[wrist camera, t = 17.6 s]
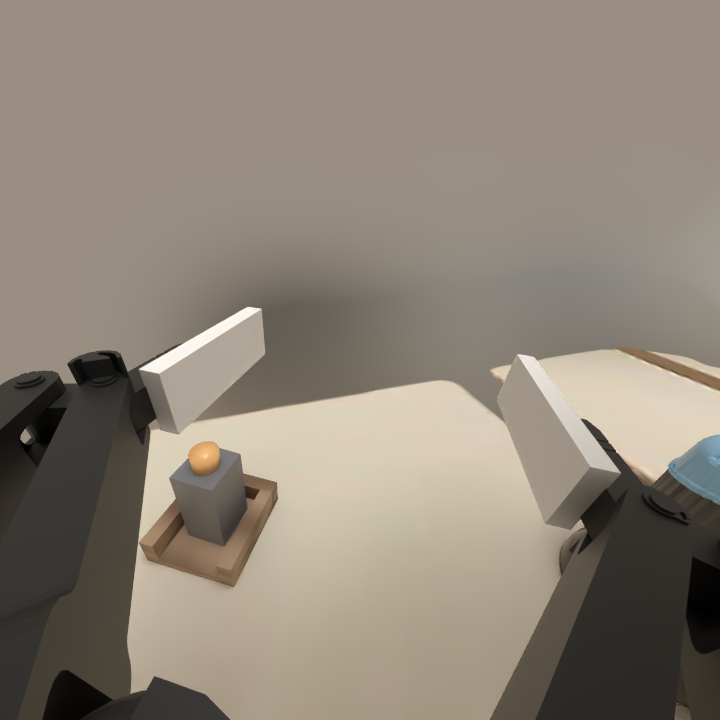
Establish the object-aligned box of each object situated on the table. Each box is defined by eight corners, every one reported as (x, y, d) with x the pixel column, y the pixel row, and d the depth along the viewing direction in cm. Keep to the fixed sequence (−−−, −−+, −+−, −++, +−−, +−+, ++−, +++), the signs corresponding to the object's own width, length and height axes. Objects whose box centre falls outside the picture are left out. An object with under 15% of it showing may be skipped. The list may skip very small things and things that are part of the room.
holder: (234, 586, 28) (230, 570, 26) (147, 559, 29) (138, 542, 28) (277, 498, 37) (276, 482, 35) (209, 480, 38) (205, 463, 36)
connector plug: (224, 546, 30) (208, 476, 24) (188, 535, 31) (164, 463, 25) (247, 509, 34) (238, 440, 28) (215, 499, 35) (199, 430, 29)
